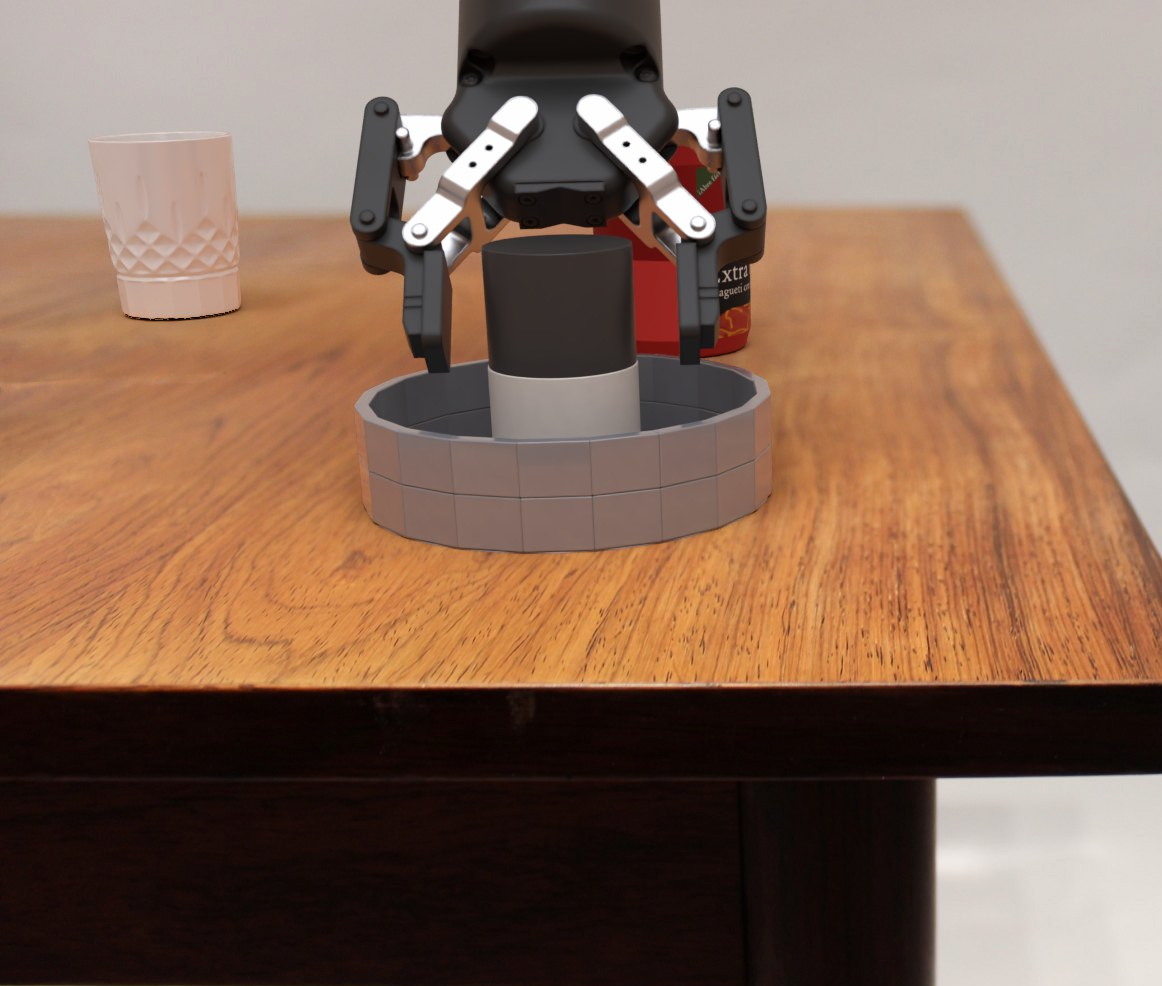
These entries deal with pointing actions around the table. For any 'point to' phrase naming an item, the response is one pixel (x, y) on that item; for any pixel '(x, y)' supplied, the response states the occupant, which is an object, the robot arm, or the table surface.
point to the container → (561, 336)
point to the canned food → (660, 282)
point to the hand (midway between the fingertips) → (562, 356)
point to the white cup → (170, 220)
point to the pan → (565, 463)
